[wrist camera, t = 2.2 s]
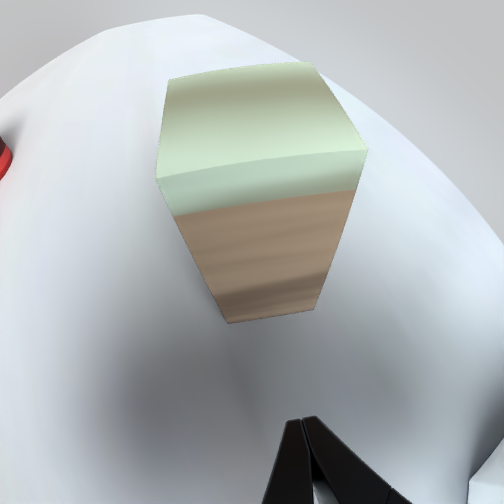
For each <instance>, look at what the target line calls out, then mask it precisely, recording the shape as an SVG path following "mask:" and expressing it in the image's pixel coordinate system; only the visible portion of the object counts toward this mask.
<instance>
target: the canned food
mask: <svg viewBox="0 0 504 504" xmlns="http://www.w3.org/2000/svg"><path fill="white" fill-rule="evenodd" d="M11 161H12V155H11V152H10V150H9V149H8V147H7V146H6V144H5V143H4V141H3V140H2V138H1V137H0V180H1V179H2V177H3V176H4V175H5V173H6V172H7V170H8V168H9V166H10V164H11Z"/></svg>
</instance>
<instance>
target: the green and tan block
mask: <svg viewBox="0 0 504 504" xmlns="http://www.w3.org/2000/svg"><path fill="white" fill-rule="evenodd" d="M367 152H368V148H367V146H366V145H365V143H364V141H363V140H362V138H361V136H360V135H359V133H358V131H357V130H356V128H355V126H354V125H353V123H352V122H351V120H350V118H349V117H348V115H347V114H346V112H345V111H344V109H343V108H342V106H341V105H340V103H339V102H338V100H337V99H336V97H335V96H334V94H333V93H332V91H331V90H330V88H329V87H328V86H327V84H326V83H325V81H324V80H323V79H322V77H321V76H320V75H319V73H318V72H317V70H316V69H315V68H314V66H313V65H312V64H311V63H310V62H290V63H274V64H263V65H253V66H244V67H236V68H229V69H222V70H216V71H210V72H204V73H199V74H194V75H189V76H184V77H179V78H175V79H170V80H169V81H168V87H167V93H166V99H165V105H164V111H163V118H162V125H161V132H160V140H159V148H158V156H157V166H156V176H155V179H156V181H157V184H158V186H159V188H160V190H161V192H162V194H163V197H164V199H165V201H166V203H167V205H168V207H169V209H170V211H171V213H172V216H173V218H174V220H175V222H176V224H177V226H178V228H179V230H180V232H181V234H182V236H183V238H184V240H185V242H186V244H187V246H188V248H189V250H190V252H191V254H192V256H193V258H194V260H195V262H196V264H197V266H198V268H199V270H200V272H201V274H202V276H203V278H204V280H205V282H206V284H207V285H208V287H209V289H210V291H211V293H212V295H213V297H214V299H215V301H216V302H217V304H218V306H219V308H220V310H221V312H222V314H223V315H224V317H225V319H226V321H227V323H228V324H229V323H236V322H243V321H250V320H256V319H263V318H269V317H275V316H281V315H286V314H292V313H298V312H303V311H309V310H314V307H315V305H316V302H317V300H318V297H319V295H320V292H321V289H322V287H323V284H324V282H325V279H326V276H327V274H328V271H329V268H330V266H331V263H332V260H333V258H334V255H335V252H336V249H337V246H338V244H339V241H340V238H341V235H342V232H343V229H344V226H345V223H346V220H347V217H348V214H349V211H350V208H351V205H352V202H353V199H354V196H355V193H356V189H357V186H358V183H359V180H360V176H361V173H362V170H363V166H364V163H365V159H366V156H367Z"/></svg>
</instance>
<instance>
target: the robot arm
mask: <svg viewBox="0 0 504 504" xmlns="http://www.w3.org/2000/svg"><path fill="white" fill-rule="evenodd" d="M313 488H314V491H315V494H316V496H317V499H318V502H319V504H412V503H411V502H410V501H409V500H407V499H406V498H405V497H403V496H402V495H401V494H400V493H399V492H397V491H396V490H395V489H394V488H391V486H390V485H389V484H388V483H387V482H386V481H385V480H383V479H382V478H381V477H380V476H379V475H378V474H377V473H376V472H374V471H373V470H372V469H371V468H370V467H369V466H368V465H367V464H366V463H365V462H364V461H362V460H361V459H360V458H359V457H358V456H357V455H356V454H355V453H354V452H353V451H352V450H351V449H350V448H349V447H348V446H347V445H345V444H344V443H343V442H342V441H341V440H340V439H339V438H338V437H337V436H336V435H335V434H334V433H333V432H332V431H331V430H330V429H329V428H328V427H327V426H326V425H325V424H324V423H323V422H322V421H321V420H320V419H319V418H318V417H317V416H309V417H304V418H302V420H301V419H294V420H289V421H287V422H286V424H285V428H284V432H283V435H282V439H281V442H280V446H279V449H278V453H277V456H276V459H275V463H274V466H273V469H272V473H271V476H270V479H269V482H268V485H267V488H266V491H265V494H264V497H263V500H262V503H261V504H314V497H313Z"/></svg>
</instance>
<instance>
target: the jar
mask: <svg viewBox="0 0 504 504" xmlns="http://www.w3.org/2000/svg"><path fill="white" fill-rule="evenodd" d="M468 504H504V438H503V439H502V441H501V442H500V443H499V445H498V446H497V447H496V449H495V450H494V451H493V453H492V454H491V455H490V457H489V458H488V459H487V460H486V462H485V463H484V464H483V465H482V466H481V468H480V469H479V470H478V471H477V472H476V473H475V475H474V476H473V477H472V478H471V479H470V481H469V493H468Z"/></svg>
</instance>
